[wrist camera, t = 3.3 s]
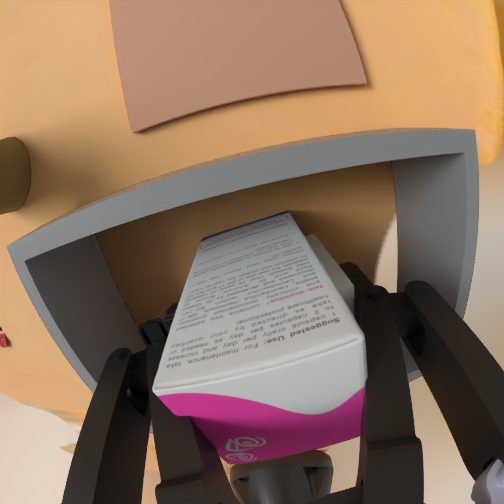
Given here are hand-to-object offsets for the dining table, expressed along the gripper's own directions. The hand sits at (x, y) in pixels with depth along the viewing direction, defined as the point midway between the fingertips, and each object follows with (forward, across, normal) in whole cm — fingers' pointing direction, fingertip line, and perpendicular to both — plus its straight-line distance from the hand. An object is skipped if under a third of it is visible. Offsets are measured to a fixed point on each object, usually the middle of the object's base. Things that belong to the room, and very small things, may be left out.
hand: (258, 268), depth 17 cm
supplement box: (+1, 0, 0) cm, 1 cm away
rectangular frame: (0, 0, 0) cm, 0 cm away
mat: (0, -2, -17) cm, 17 cm away
